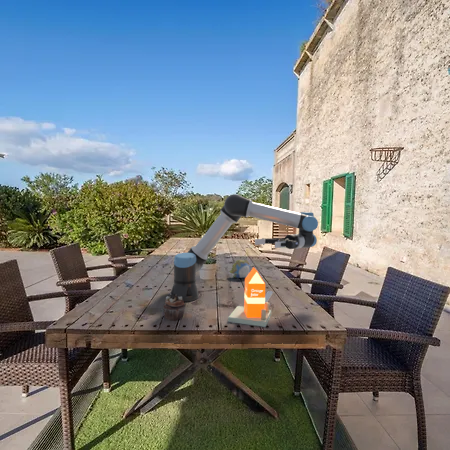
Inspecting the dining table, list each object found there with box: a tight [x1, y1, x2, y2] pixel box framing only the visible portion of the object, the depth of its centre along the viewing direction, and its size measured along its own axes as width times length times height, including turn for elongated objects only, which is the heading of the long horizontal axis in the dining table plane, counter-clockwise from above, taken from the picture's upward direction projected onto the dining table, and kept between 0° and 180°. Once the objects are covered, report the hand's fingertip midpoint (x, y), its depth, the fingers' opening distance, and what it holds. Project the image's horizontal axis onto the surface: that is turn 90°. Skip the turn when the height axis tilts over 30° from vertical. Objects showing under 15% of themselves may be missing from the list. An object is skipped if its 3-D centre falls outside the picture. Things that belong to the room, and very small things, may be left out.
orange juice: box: [243, 266, 266, 318], centre depth 129 cm, size 8×9×20 cm
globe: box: [229, 259, 251, 279], centre depth 210 cm, size 13×15×14 cm
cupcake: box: [162, 294, 186, 321], centre depth 129 cm, size 10×10×10 cm
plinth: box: [227, 301, 272, 328], centre depth 130 cm, size 16×16×6 cm
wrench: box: [265, 290, 274, 307], centre depth 158 cm, size 8×32×1 cm, turn 163°
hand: (264, 243), depth 141 cm, fingers open, 13 cm apart
